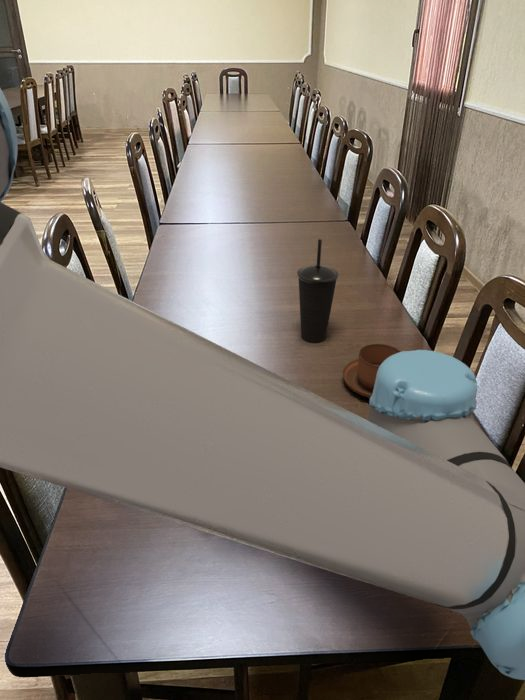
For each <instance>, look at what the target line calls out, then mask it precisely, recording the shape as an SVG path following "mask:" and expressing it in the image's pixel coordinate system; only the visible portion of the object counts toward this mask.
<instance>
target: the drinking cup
mask: <svg viewBox="0 0 525 700" xmlns="http://www.w3.org/2000/svg"><path fill="white" fill-rule="evenodd" d="M322 244H323V241H322V239H320V238H319V239H317V251H316V264H309V265H305V266H302V267H300V268H299V269H298V270H297V271H296V276H297V278H298V291H299V292H298V296H299V315H300V317H299V318H300V335H301V338H302V340H303V341H304V342H307V343H311V344H319V343H322V342H324V341H325V340H326V337H327V333H328V328H329V322H330V316H331V312H332V311H331V310H332V306H333V301H334V295H335V290H336V284H337V280H338V279H339V272H338V270H336V269H335V268H333V267H330V266H328V265H324V264H321V260H322V259H321V258H322V257H321V256H322Z"/></svg>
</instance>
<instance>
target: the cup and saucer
mask: <svg viewBox="0 0 525 700" xmlns="http://www.w3.org/2000/svg"><path fill="white" fill-rule="evenodd" d="M399 352H402V351H401V350H400V349H398V348H396V347H394V346H392V345H389V344H384V343H370V344H367V345H364V346H363V347H361V348H360V350H359V352H358V359H355V360H352V361H350V362H348V363H347V364H346V365H345V366H344V368H343V370H342V378H343V382H344V383H345V385H346V386H347V387H348V388H349V389H351V390H352V391H353V392H354V393H356V394H358V395H360V396H362V397H365V398H367V399H370V398H371V396H372V394H373V389H374V385H375V380H376V375H377V371H378V369H379V367H380V365H381V364H382V363H383V362H384V360H386V359H387V358H388V357H390V356H392V355H394V354H396V353H399Z"/></svg>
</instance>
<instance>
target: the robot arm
mask: <svg viewBox="0 0 525 700" xmlns="http://www.w3.org/2000/svg"><path fill="white" fill-rule="evenodd" d="M13 116H14V115H13V113H12V110H11V107H10V105H9V102H8V100H7V98H6V95H5V94H4V92H3V90H2V88H1V87H0V468H2V469H4V470H7V471H11V472H14V473H18V474H21V475H24V476H27V477H30V478H34V479H36V480H40V481H43V482H45V483H50V484H52V485H55V486H58V487H62V488H65V489H68V490H71V491H74V492H77V493H81V494H84V495H86V496H89V497H90V496H91V497H94V498H96V499H100V500H103V501H106V502H109V503H113V504H116V505H119V506H122V507H125V508H128V509H132V510H135V511H138V512H141V513H144V514H148V515H151V516H153V517H157V518H160V519H164V520H166V521H170V522H173V523H176V524H179V525H182V526H186V527H188V528H192V529H195V530H198V531H202V532H205V533H208V534H211V535H214V536H217V537H220V538H223V539H226V540H230V541H233V542H236V543H240V544H242V545H245V546H249V547H253V548H255V549H259V550H262V551H265V552H267V553H268V552H269V553H272V554H275V555H277V556H281V557H284V558H287V559H290V560H294V561H297V562H299V563H303V564H307V565H309V566H312V567H316V568H319V569H322V570H325V571H328V572H332V573H335V574H338V575H341V576H344V577H348V578H351V579H354V580H357V581H360V582H364V583H367V584H370V585H373V586H376V587H379V588H383V589H386V590H389V591H392V592H395V593H399V594H402V595H404V596H408V597H411V598H415V599H416V600H420V601H423V602H427V603H429V604H433V605H435V606H437V607H441V608H442V609H446V610H448V611H452V612H454V613H458V614H460V615H461V616H463V617H464V618H465V620H466V622H467V624H468V626H469V628H470V631H469V633H470V636H471V637H472V639H473V640H474V641H476V642H478V644H479V646H480V647H481V649H482V650H483V652H484V654H485V655H486V656H487V659H488V660H489V662H490V663H491V664H492V665H493V667H495V668H496V669H497V670H498V671H499V673H501V674H502V675H504V676H506V677H509V678H511V679H514V680H520V681H525V482H524V481H523V480H522V478H521V477H520V476H519V475H518V474H517V472H516V471H515V469H513V467H512V466H511V465H510V463H509V462H508V460H507V459H506V457H505V456H504V455H503V454H502V453H501V452H500V450H498V448H497V447H496V446H495V444H494V443H493V442H492V441H491V439H490V438H489V437H488V436H487V435H486V434H485V432H484V431H483V430H482V429H481V427H479V425H478V424H477V423H476V422H475V420H474V417H473V415H474V414H473V413H474V411H475V410H476V409H477V393H478V387H479V385H478V382H477V379H476V378H477V377H476V375H475V373H474V372H473V370H472V369H471V367H469V366H468V365H467V364H466V363H464V362H462V361H461V360H459V359H458V358H456V357H454V356H451V355H449V354H447V353H446V354H445V353H443V352H439V351H435V350H428V349H416V350H402V351H401V352H399V353H396V354H394V355H392V356H390V357H388V358H387V359H386V360H384V362H383V363H382V364H381V365H380V367H379V369H378V371H377V375H376V380H375V385H374V389H373V394H372V396H371V398H368V399H369V400H368V403H369V413H368V419H366V418H364V417H362V416H361V415H358V414H356V413H354V412H352V411H350V410H348V409H346V408H344V407H342V406H341V405H338V404H336V403H334V402H332V401H330V400H328V399H326V398H325V397H322V396H320V395H318V394H316V393H315V392H312V391H310V390H308V389H307V388H304V387H302V386H300V385H298V384H297V383H295V382H292V381H291V380H288V379H287V378H285V377H282V376H281V375H279V374H277V373H275V372H273V371H271V370H269V369H266V368H265V367H263V366H261V365H259V364H257V363H255V362H253V361H251V360H249V359H247V358H245V357H243V356H241V355H239V354H237V353H235V352H233V351H231V350H229V349H227V348H226V347H223V346H221V345H219V344H218V343H216V342H213V341H212V340H209V339H208V338H205V337H203V336H202V335H200V334H197V333H196V332H194V331H192V330H190V329H188V328H186V327H184V326H182V325H181V324H177V323H176V322H174V321H173V320H170V319H168V318H166V317H165V316H162V315H160V314H158V313H156V312H154V311H152V310H151V309H149V308H146V307H144V306H142V305H140V304H138V303H136V302H134V301H133V300H131V299H129V298H127V297H124V296H123V295H121V294H118V293H117V292H115V291H113V290H111V289H108V288H106V287H105V286H103V285H101V284H99V283H97V282H95V281H93V280H91V279H89V278H88V277H86V276H83V275H81V274H79V273H77V272H75V271H73V270H71V269H69V268H67V267H65V266H63V265H61V264H59V263H57V262H55V261H53V260H51V259H50V257H49V256H48V255H47V253H46V252H45V251H44V250H43V248H42V245H41V243H40V240H39V238H38V235H37V233H36V230H35V227H34V224H33V222H32V219H31V217H29V216H27V215H25V214H24V213H22V212H21V211H18V210H16V209H15V208H13V207H11V206H9V205H7V204H5V203H3V202H2V201H4V199H5V197H6V196H7V194H8V192H10V191H9V190H10V189H11V187H12V185H13V182H14V172H15V169H16V167H17V166H16V165H17V159H18V152H19V151H18V150H19V149H18V148H19V147H18V146H19V145H18V141H19V140H18V133H17V128H16V123H15V118H14V117H13Z"/></svg>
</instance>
